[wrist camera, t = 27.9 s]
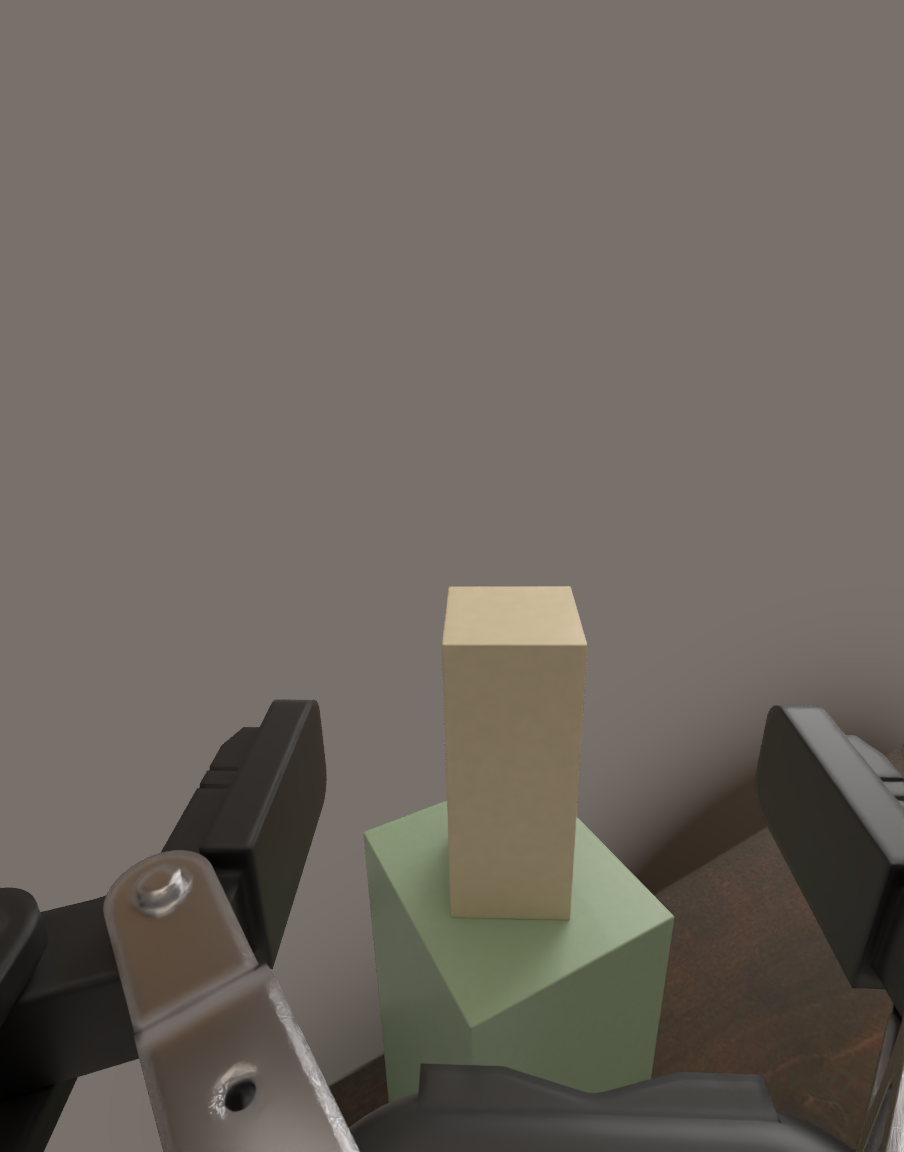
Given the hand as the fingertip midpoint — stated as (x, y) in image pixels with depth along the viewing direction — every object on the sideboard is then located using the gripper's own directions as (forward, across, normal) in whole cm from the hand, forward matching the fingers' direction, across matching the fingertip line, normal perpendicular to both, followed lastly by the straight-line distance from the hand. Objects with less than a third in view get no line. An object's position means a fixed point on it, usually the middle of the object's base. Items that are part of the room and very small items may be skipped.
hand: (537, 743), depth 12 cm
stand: (+11, 0, +37) cm, 39 cm away
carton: (+11, 0, +15) cm, 19 cm away
